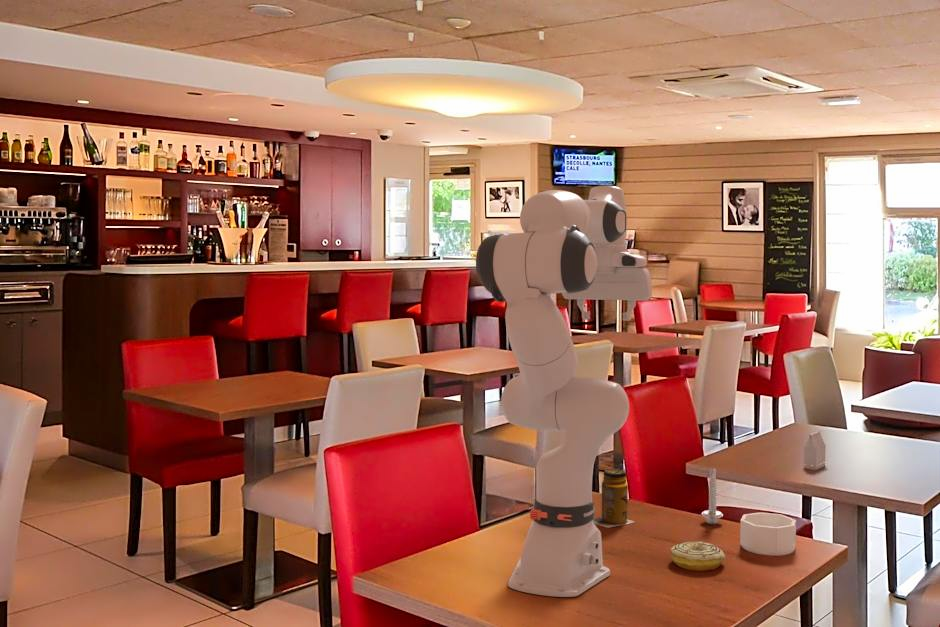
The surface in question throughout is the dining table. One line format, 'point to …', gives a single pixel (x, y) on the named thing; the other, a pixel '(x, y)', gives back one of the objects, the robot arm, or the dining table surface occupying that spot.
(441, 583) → the dining table surface
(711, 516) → the screw
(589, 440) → the robot arm
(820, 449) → the white faceted block
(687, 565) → the decorated donut
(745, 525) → the white faceted bowl
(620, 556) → the dining table surface
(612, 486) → the condiment
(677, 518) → the dining table surface
